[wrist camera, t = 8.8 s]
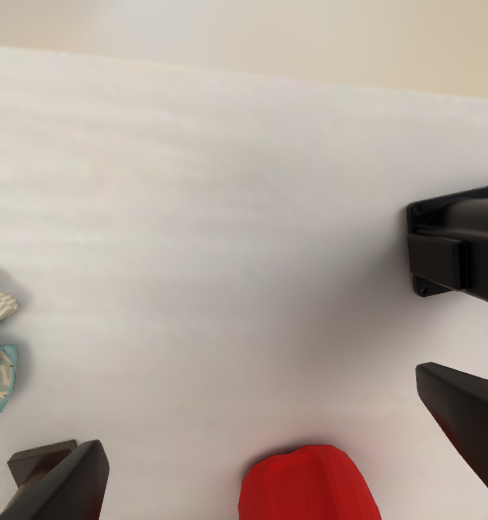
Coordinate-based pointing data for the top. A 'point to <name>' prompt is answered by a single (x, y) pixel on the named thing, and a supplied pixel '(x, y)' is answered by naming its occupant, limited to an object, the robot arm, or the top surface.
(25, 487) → the peg
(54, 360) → the top surface
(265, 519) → the water bottle
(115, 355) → the top surface
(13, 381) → the stuffed animal
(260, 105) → the top surface
